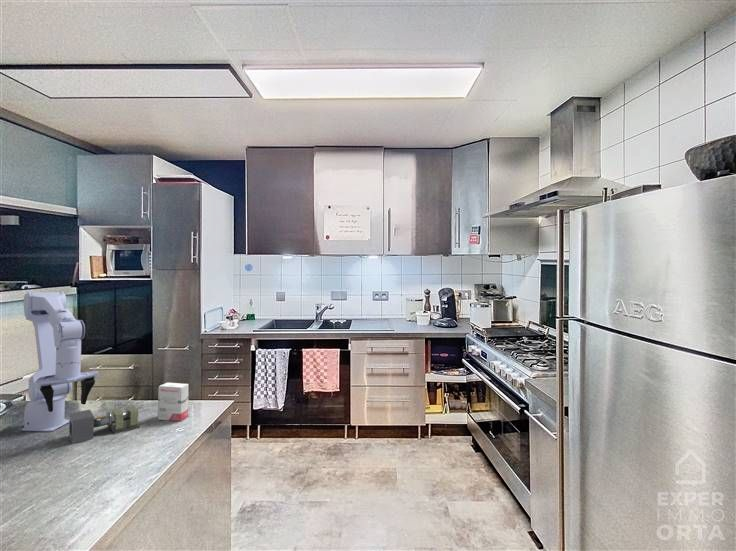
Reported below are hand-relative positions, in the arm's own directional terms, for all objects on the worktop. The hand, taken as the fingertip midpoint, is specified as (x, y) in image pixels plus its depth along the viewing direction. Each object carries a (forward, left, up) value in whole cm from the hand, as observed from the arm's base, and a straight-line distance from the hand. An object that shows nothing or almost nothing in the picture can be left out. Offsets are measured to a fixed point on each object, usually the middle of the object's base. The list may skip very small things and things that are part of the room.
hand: (67, 407), depth 106 cm
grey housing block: (+2, +3, -10) cm, 11 cm away
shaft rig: (+8, +9, -10) cm, 16 cm away
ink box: (+22, +19, -11) cm, 31 cm away
